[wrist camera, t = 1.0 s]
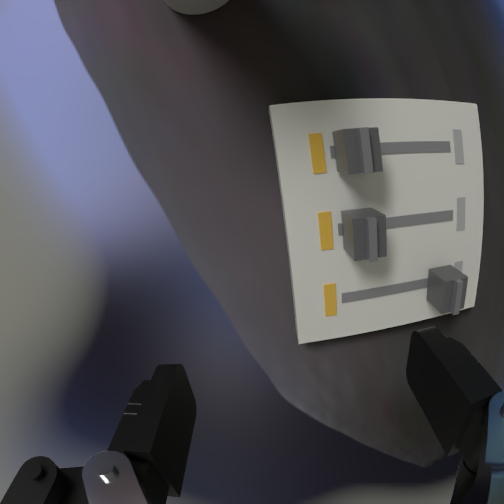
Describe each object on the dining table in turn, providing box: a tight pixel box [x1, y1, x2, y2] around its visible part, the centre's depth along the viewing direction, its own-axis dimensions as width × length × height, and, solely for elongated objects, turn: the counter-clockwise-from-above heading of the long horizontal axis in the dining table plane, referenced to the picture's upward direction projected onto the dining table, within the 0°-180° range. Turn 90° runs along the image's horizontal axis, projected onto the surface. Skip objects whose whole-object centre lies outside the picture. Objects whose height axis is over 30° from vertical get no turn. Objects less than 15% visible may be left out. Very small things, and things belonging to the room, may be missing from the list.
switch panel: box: [268, 98, 484, 344], centre depth 25 cm, size 19×20×2 cm
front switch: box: [332, 127, 383, 175], centre depth 20 cm, size 2×3×4 cm
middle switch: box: [341, 207, 387, 262], centre depth 22 cm, size 2×3×4 cm
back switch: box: [426, 265, 468, 315], centre depth 23 cm, size 2×3×4 cm
